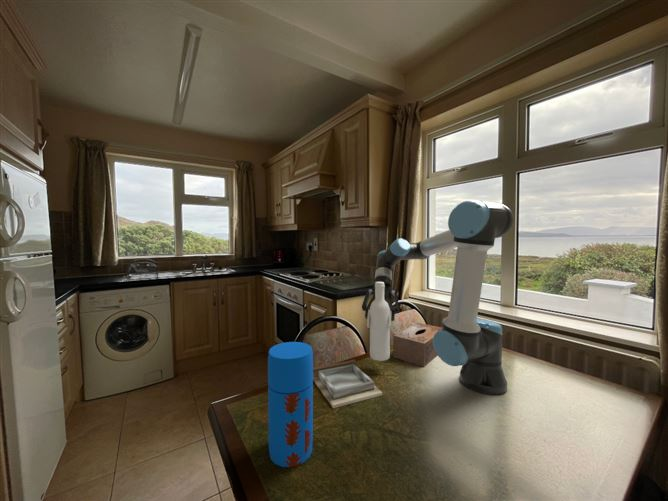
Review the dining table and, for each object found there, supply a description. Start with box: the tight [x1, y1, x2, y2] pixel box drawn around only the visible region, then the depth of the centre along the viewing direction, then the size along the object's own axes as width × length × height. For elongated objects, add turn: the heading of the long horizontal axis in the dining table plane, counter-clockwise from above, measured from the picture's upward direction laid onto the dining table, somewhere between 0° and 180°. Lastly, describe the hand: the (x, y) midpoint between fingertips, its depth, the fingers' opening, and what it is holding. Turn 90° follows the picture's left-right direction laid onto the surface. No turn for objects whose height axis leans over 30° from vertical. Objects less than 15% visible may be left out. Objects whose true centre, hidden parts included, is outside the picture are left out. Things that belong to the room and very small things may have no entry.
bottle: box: [369, 282, 391, 362], centre depth 107 cm, size 8×8×30 cm
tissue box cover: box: [392, 322, 442, 368], centre depth 125 cm, size 26×14×10 cm, turn 139°
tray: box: [313, 359, 383, 409], centre depth 95 cm, size 20×18×4 cm
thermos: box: [267, 341, 314, 468], centre depth 66 cm, size 11×11×25 cm
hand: (378, 326), depth 104 cm, fingers closed on bottle, 8 cm apart
